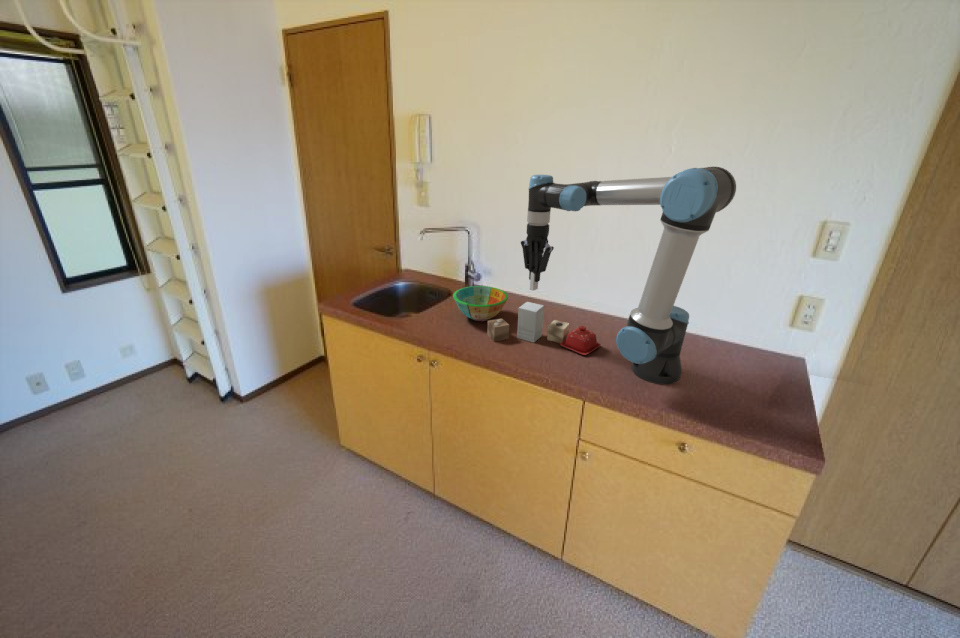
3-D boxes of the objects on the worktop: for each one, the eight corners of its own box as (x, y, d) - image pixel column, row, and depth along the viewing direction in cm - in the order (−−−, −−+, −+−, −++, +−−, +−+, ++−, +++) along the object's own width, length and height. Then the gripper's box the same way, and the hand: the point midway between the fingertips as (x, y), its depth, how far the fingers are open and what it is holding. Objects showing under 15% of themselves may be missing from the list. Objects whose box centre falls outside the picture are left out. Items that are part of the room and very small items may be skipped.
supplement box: (542, 335, 160) (545, 305, 155) (533, 343, 154) (536, 312, 149) (525, 330, 164) (527, 300, 158) (516, 338, 158) (518, 307, 153)
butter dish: (557, 346, 153) (560, 326, 149) (575, 337, 160) (578, 316, 157) (584, 358, 145) (587, 337, 142) (602, 348, 153) (605, 327, 149)
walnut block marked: (508, 339, 157) (509, 324, 155) (493, 341, 155) (494, 326, 152) (501, 332, 162) (502, 317, 160) (487, 335, 160) (487, 320, 157)
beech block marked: (567, 337, 159) (569, 322, 157) (562, 343, 155) (564, 328, 152) (553, 333, 162) (554, 319, 159) (547, 339, 157) (548, 324, 155)
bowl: (474, 302, 188) (474, 281, 184) (517, 315, 176) (518, 293, 172) (442, 319, 172) (441, 296, 167) (486, 334, 160) (487, 310, 156)
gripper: (560, 224, 139) (554, 291, 149) (530, 219, 148) (526, 282, 157) (546, 228, 134) (541, 296, 144) (516, 221, 143) (513, 287, 153)
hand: (533, 289), depth 151 cm, fingers closed
